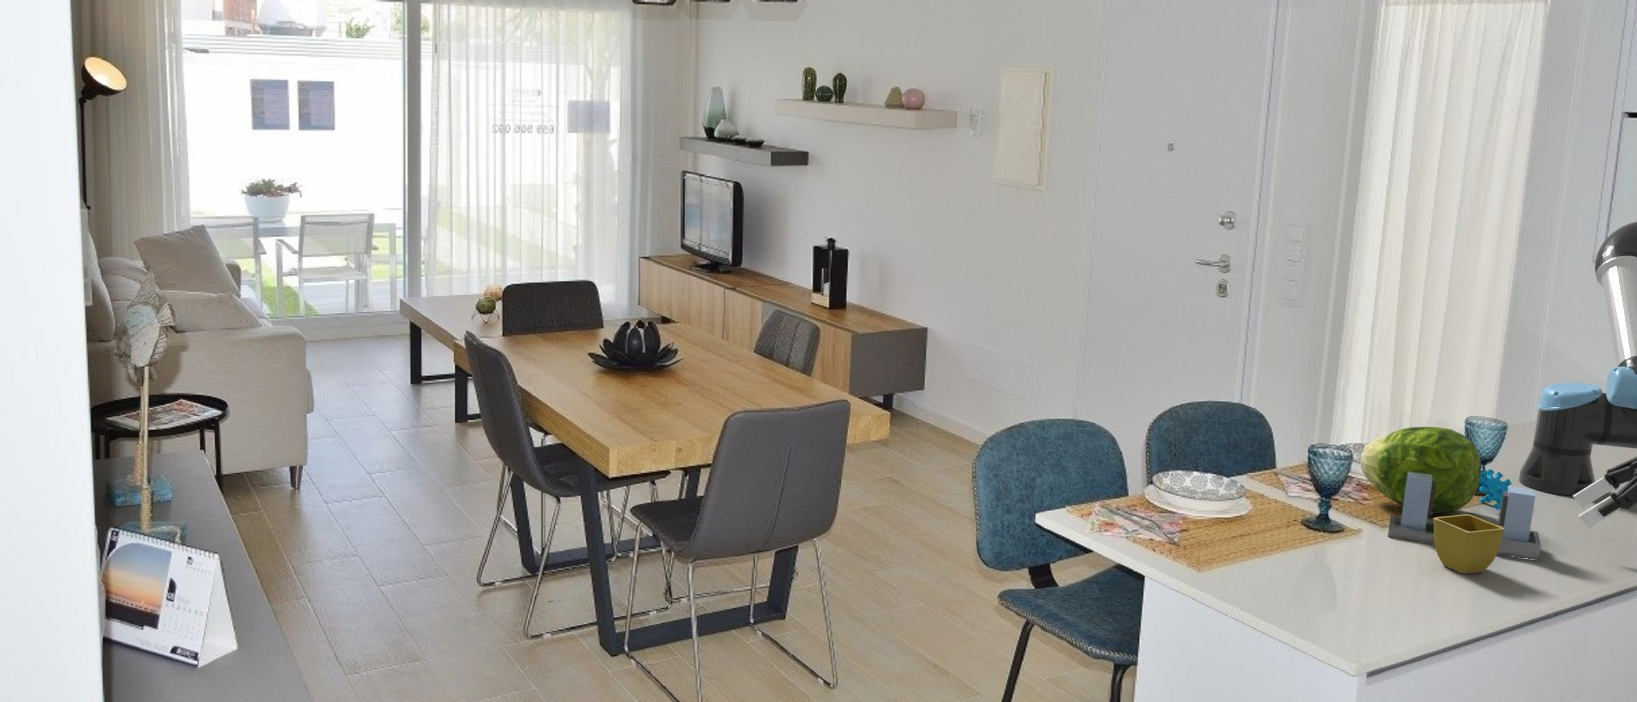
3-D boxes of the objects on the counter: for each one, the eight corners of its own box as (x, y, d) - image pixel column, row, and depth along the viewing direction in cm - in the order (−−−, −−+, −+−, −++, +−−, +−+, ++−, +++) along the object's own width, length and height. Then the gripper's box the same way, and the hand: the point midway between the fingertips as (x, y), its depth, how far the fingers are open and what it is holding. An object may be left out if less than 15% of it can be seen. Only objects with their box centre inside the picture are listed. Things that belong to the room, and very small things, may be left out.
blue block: (1496, 534, 274) (1503, 485, 272) (1526, 539, 272) (1534, 489, 270) (1496, 541, 270) (1504, 491, 268) (1527, 546, 268) (1535, 496, 266)
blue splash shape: (1493, 508, 292) (1475, 465, 297) (1472, 520, 296) (1455, 479, 302) (1532, 511, 296) (1513, 469, 301) (1511, 523, 300) (1493, 482, 306)
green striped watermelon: (1373, 486, 309) (1384, 406, 305) (1485, 512, 294) (1498, 428, 290) (1341, 504, 295) (1352, 421, 291) (1457, 532, 280) (1470, 445, 276)
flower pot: (1426, 562, 262) (1432, 516, 260) (1462, 558, 265) (1468, 513, 263) (1462, 579, 254) (1469, 532, 252) (1499, 575, 257) (1506, 528, 255)
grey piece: (1389, 524, 283) (1397, 467, 281) (1535, 547, 273) (1545, 488, 271) (1387, 536, 276) (1395, 478, 273) (1538, 561, 265) (1547, 500, 263)
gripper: (1711, 481, 244) (1600, 547, 253) (1689, 447, 267) (1588, 509, 276) (1681, 447, 245) (1571, 514, 254) (1662, 416, 268) (1562, 478, 277)
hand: (1580, 511), depth 265 cm, fingers open, 13 cm apart
